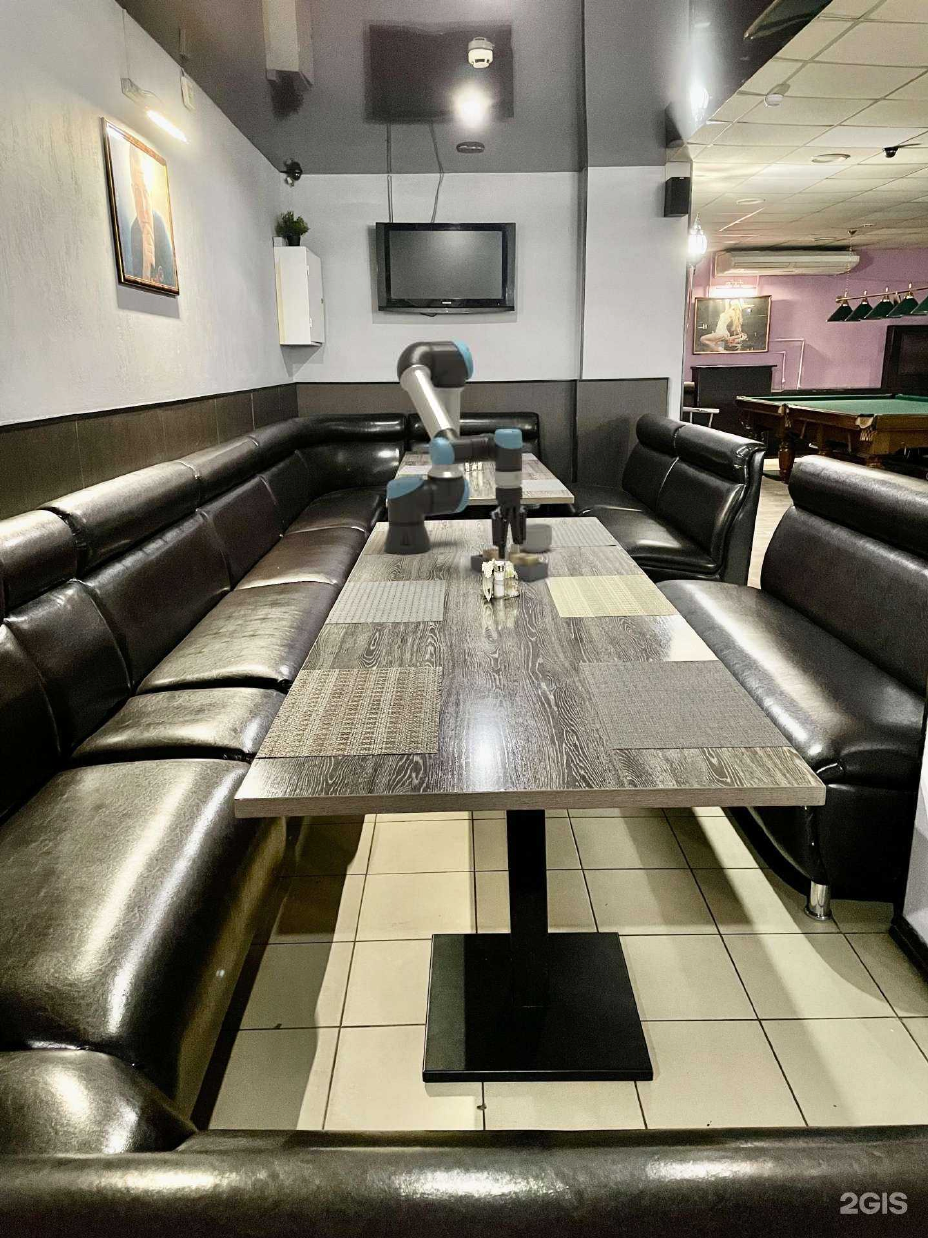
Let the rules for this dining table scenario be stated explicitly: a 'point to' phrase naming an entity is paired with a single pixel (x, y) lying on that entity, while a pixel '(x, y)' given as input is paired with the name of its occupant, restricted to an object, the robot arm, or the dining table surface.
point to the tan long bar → (512, 557)
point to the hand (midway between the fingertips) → (509, 567)
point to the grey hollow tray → (532, 572)
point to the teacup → (537, 537)
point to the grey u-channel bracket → (477, 562)
